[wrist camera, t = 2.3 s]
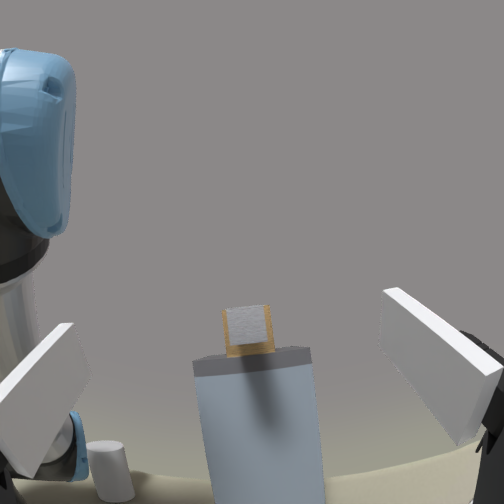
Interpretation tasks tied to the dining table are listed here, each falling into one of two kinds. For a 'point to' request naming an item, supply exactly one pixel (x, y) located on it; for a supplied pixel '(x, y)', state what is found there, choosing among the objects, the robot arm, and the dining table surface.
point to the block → (248, 330)
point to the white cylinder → (110, 471)
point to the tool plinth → (261, 427)
